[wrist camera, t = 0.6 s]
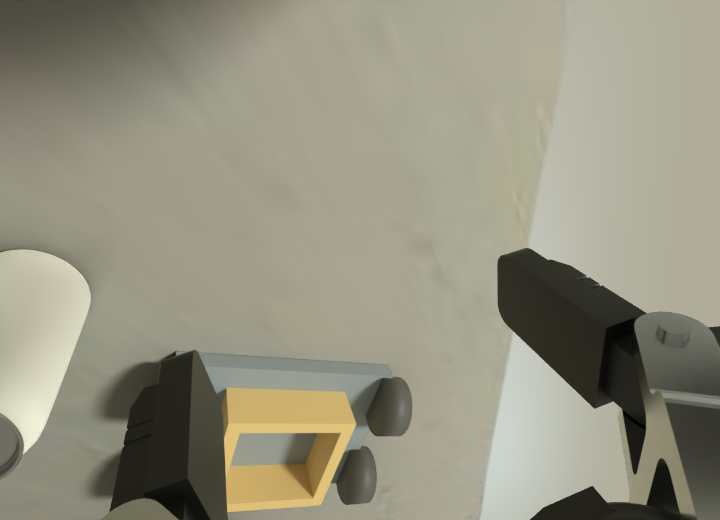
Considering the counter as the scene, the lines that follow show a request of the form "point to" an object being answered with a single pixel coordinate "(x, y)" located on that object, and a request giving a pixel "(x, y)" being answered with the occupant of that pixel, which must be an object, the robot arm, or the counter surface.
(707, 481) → the robot arm
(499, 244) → the counter surface
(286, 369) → the chassis
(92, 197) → the counter surface
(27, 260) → the can
